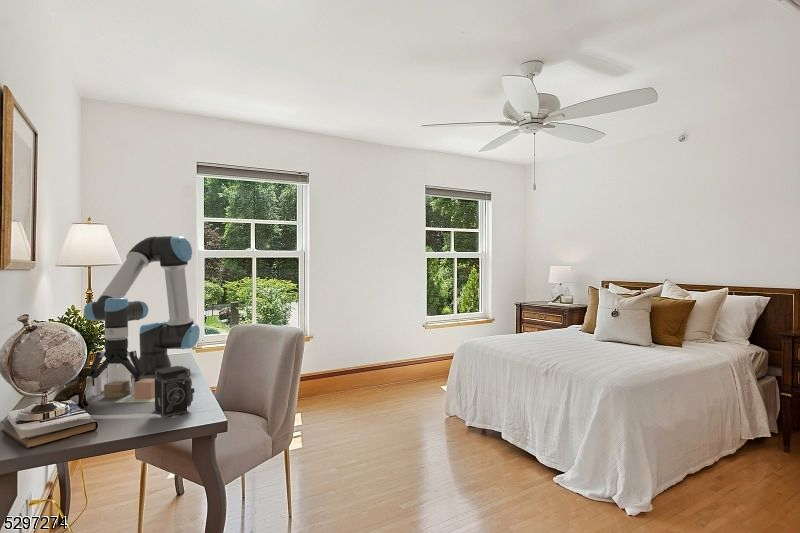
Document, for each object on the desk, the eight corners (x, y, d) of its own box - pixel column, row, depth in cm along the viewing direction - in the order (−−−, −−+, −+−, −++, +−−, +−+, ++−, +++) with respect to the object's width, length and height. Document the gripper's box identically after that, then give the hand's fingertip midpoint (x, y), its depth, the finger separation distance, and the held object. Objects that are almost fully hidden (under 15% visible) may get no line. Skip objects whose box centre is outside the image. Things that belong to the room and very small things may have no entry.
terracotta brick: (143, 394, 172) (143, 378, 172) (159, 394, 172) (159, 378, 173) (134, 399, 166) (134, 382, 166) (151, 398, 166) (151, 382, 167)
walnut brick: (114, 396, 175) (114, 380, 175) (129, 396, 175) (129, 380, 175) (104, 400, 169) (104, 384, 169) (120, 400, 169) (120, 384, 169)
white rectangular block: (127, 391, 182) (127, 361, 182) (102, 393, 179) (102, 363, 179) (133, 384, 193) (133, 356, 193) (110, 386, 190) (109, 357, 190)
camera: (197, 412, 154) (196, 368, 154) (163, 420, 146) (162, 373, 146) (185, 406, 161) (185, 363, 161) (153, 413, 154) (152, 368, 154)
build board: (136, 395, 176) (136, 391, 176) (178, 394, 177) (177, 391, 177) (114, 405, 162) (114, 402, 162) (159, 405, 163) (159, 401, 163)
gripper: (75, 340, 169) (75, 397, 168) (144, 339, 169) (144, 396, 168) (89, 337, 176) (89, 392, 176) (155, 336, 176) (155, 391, 176)
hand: (116, 395), depth 172 cm, fingers open, 13 cm apart
